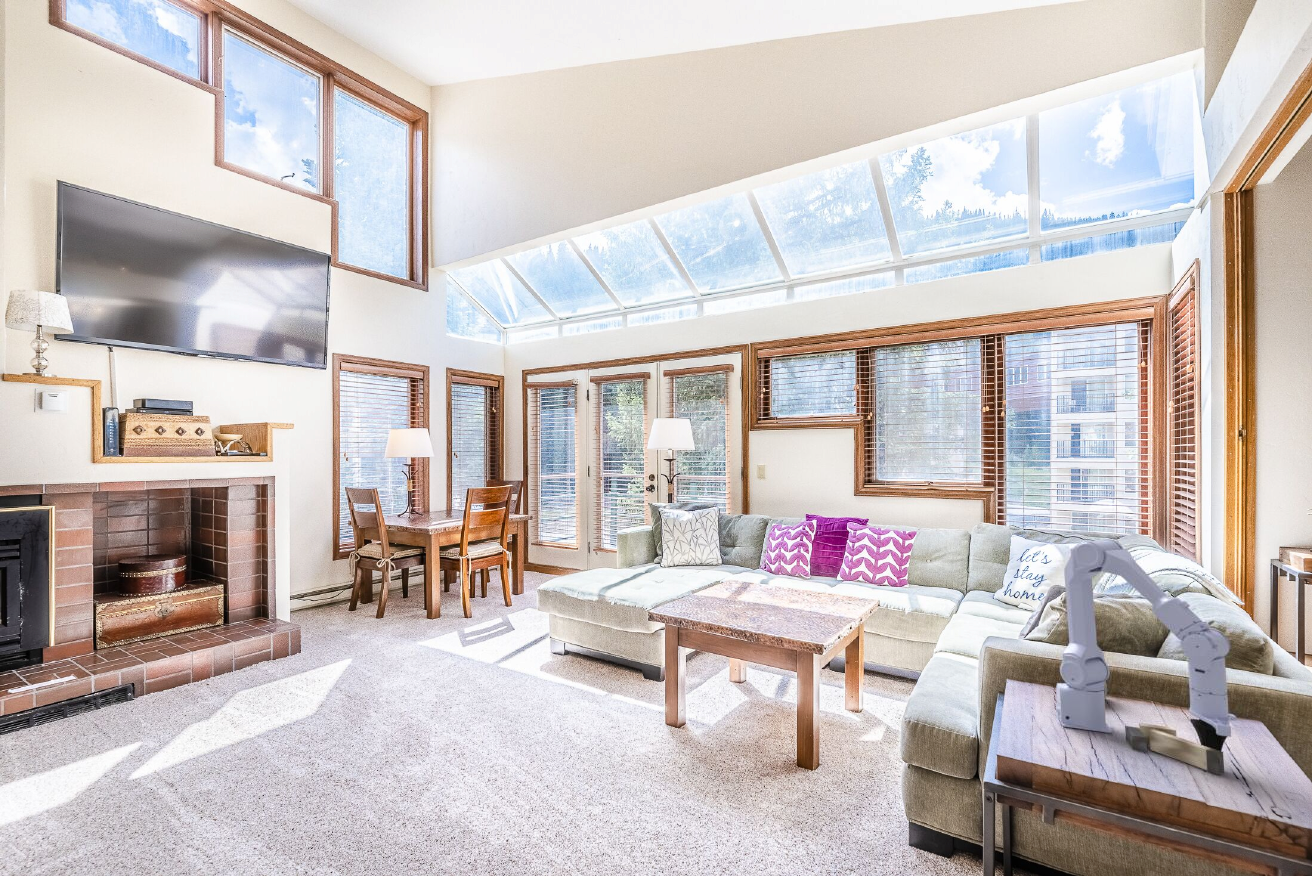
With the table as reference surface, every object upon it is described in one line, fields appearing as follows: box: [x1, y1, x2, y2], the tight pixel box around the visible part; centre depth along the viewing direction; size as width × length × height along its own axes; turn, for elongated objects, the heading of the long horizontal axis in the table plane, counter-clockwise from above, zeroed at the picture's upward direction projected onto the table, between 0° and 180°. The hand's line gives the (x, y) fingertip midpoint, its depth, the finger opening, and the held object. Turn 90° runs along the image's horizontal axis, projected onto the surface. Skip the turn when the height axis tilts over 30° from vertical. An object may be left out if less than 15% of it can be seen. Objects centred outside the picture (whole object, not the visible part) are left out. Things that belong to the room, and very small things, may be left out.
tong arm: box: [1149, 729, 1225, 776], centre depth 125 cm, size 12×2×4 cm, turn 22°
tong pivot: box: [1124, 722, 1177, 753], centre depth 132 cm, size 8×6×4 cm, turn 65°
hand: (1212, 759), depth 123 cm, fingers closed
